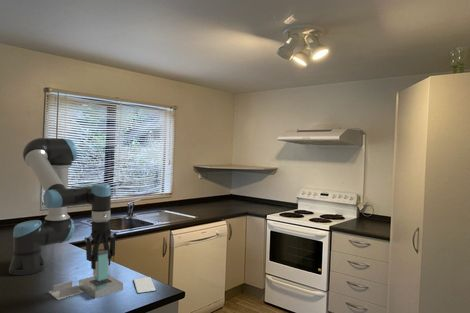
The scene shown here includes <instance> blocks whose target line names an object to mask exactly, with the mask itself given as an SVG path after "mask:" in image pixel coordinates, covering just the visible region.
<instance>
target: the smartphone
mask: <svg viewBox="0 0 470 313" xmlns="http://www.w3.org/2000/svg"><path fill="white" fill-rule="evenodd" d="M133 285H134V288H135V291H136V294H138V295H141V294H147V293H154V292H155V293H156V291H157V289H156V286H155V284H154V282H153V279H152V276H144V277H137V278H133Z"/></svg>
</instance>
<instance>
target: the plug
mask: <svg viewBox="0 0 470 313" xmlns="http://www.w3.org/2000/svg"><path fill="white" fill-rule="evenodd" d="M96 261H98V277H95V276H94V279H96V280H98V281H100V280H104V279H107V278H108V275H109V271H108V250H105V249H104V248H98V253H97V258H96Z"/></svg>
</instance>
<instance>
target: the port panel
mask: <svg viewBox="0 0 470 313" xmlns="http://www.w3.org/2000/svg"><path fill="white" fill-rule="evenodd" d="M78 286H79V289H80V290H82V291H83V292H85V293H87V294H88V295H89V294H90V295H89V296H91V297H92V298H93V299H95V298H96V299H98V297H99V298H101V296H102V297H105V296H108V295H111V293H112V294H115V293H118V292H121V291H123V290H124V282H122V281H120V280H118V279H117V278H115V277H113V276H111V275H109V274H108V278H107V279H104V280H100V281H98V280H96V279H94V276H93V275H92V276H90V277H86V278H81V279H79V280H78ZM114 292H115V293H114ZM104 295H105V296H104Z"/></svg>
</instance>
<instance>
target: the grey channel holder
mask: <svg viewBox="0 0 470 313" xmlns="http://www.w3.org/2000/svg"><path fill="white" fill-rule="evenodd" d="M52 288H53V290H49V291H48V294H49V295H51V296H52V297H53V298H55V299H56V300H57V301H59V300H63V299H67V298H69V296H70V297H72V296H76V294H77V295H80V294H83V293H84V290H82V289H81V288H79V285H75V284H73V281H72V280H70V281H65V282H62V283H58V284H53V285H52ZM66 297H67V298H66Z"/></svg>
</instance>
